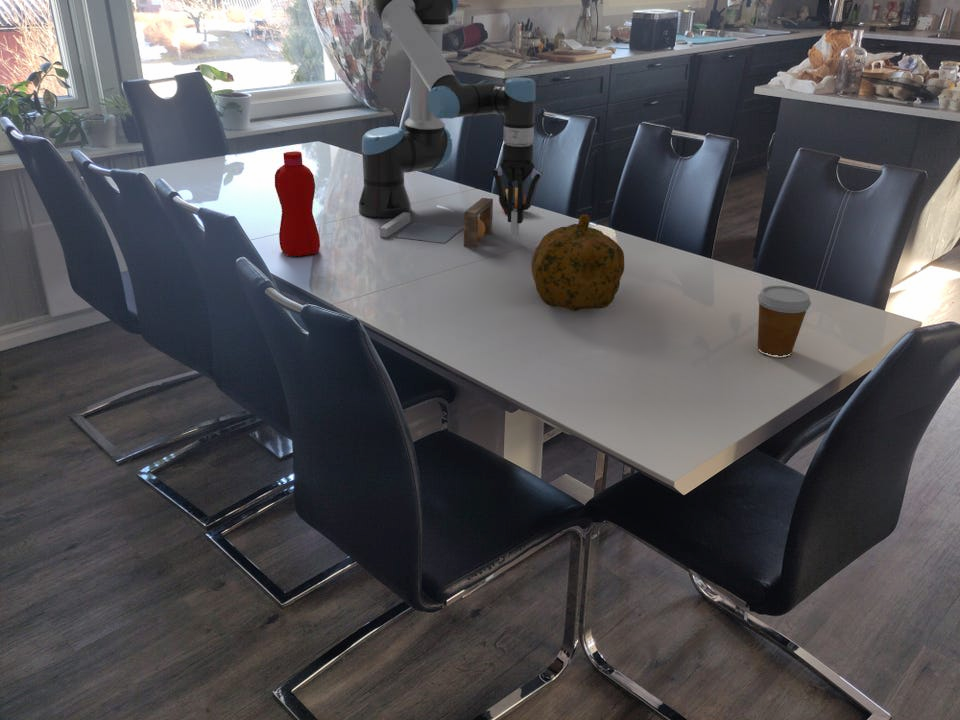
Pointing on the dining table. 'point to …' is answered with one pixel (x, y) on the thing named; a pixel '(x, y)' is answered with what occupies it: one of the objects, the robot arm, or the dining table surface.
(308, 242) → the water bottle
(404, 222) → the wall
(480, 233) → the ball
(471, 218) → the bridge
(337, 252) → the dining table surface
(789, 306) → the disposable coffee cup
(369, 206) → the robot arm
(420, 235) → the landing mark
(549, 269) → the decorative pumpkin
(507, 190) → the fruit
